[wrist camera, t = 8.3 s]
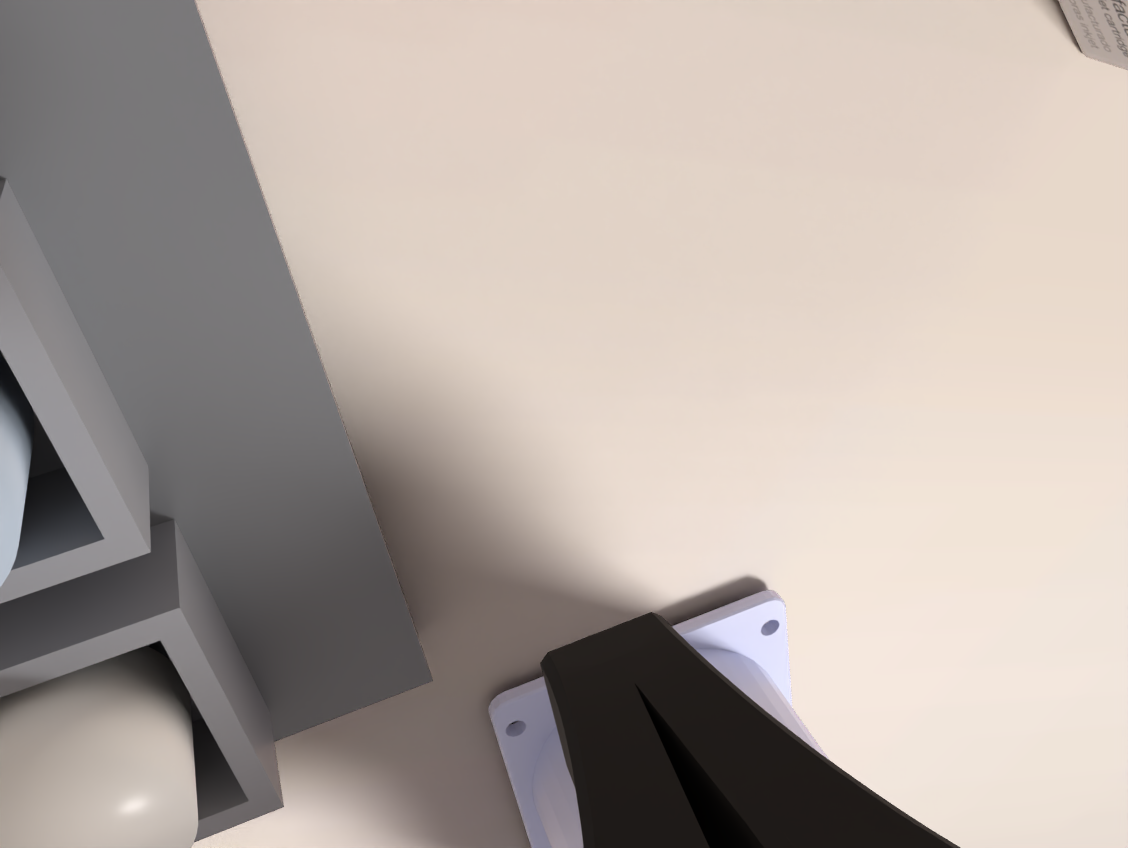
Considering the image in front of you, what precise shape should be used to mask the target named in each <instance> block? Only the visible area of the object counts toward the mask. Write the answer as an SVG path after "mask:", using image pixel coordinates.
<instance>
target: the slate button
mask: <svg viewBox="0 0 1128 848" xmlns="http://www.w3.org/2000/svg"><path fill="white" fill-rule="evenodd" d="M34 429H35V422H34V413H33V408H32V406H31V404H30V403H29V401H28V399H27V397H26V395H25V393H24V392H23V390H22V388H21V386H20V384H19V383H18V381H17V379H16V377H15V375H14V373H13V372H12V370H11V368H10V366H9V364H8V363H7V361H6V360H5V359H4V358H3V357H2V356H1V355H0V587H1V586H2V584H3V583H4V581H5V580H6V578H7V576H8V575H9V573H10V571H11V569H12V566H13V564H14V561H15V559H16V555H17V550H18V546H19V540H20V533H21V526H22V519H23V512H24V505H25V498H26V491H27V484H28V477H29V469H30V462H31V455H32V448H33V441H34Z"/></svg>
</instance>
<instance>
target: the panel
mask: <svg viewBox="0 0 1128 848" xmlns="http://www.w3.org/2000/svg"><path fill="white" fill-rule="evenodd" d="M0 355H1V356H2V357H3V358H4V359H5V360H6V361H7V363H8V364H9V366H10V368H11V370H12V372H13V373H14V375H15V377H16V379H17V381H18V383H19V384H20V386H21V388H22V390H23V392H24V393H25V395H26V397H27V399H28V401H29V403H30V404H31V406H32V408H33V413H34V422H35V429H34V441H33V448H32V455H31V462H30V469H29V477H28V484H27V491H26V498H25V505H24V512H23V519H22V526H21V533H20V540H19V546H18V550H17V555H16V559H15V561H14V564H13V566H12V569H11V571H10V573H9V575H8V576H7V578H6V580H5V581H4V583H3V584H2V586H1V587H0V697H3V696H6V695H9V694H12V693H14V692H17V691H20V690H23V689H26V688H28V687H31V686H34V685H37V684H40V683H42V682H45V681H48V680H51V679H54V678H56V677H59V676H62V675H65V674H68V673H70V672H73V671H76V670H79V669H82V668H84V667H87V666H90V665H93V664H96V663H98V662H101V661H104V660H107V659H110V658H112V657H115V656H118V655H121V654H124V653H126V652H129V651H132V650H135V649H138V648H140V647H143V646H148V647H150V648H152V649H154V650H156V651H157V652H159V653H161V654H163V655H164V656H165V657H166V658H168V659H169V660H170V661H171V662H172V663H173V664H174V666H175V668H176V670H177V671H178V673H179V675H180V677H181V679H182V680H183V682H184V684H185V686H186V688H187V689H188V691H189V693H190V702H191V717H192V732H193V747H194V763H195V778H196V793H197V808H198V829H197V835H196V837H195V840H194V842H196V841H199V840H201V839H204V838H206V837H209V836H211V835H214V834H216V833H219V832H221V831H224V830H227V829H229V828H232V827H234V826H237V825H239V824H242V823H244V822H247V821H249V820H252V819H254V818H257V817H259V816H262V815H265V814H267V813H270V812H272V811H275V810H277V809H280V808H282V807H284V805H283V798H282V791H281V785H280V778H279V771H278V764H277V758H276V751H275V744H274V741H277V740H280V739H282V738H285V737H288V736H290V735H293V734H295V733H298V732H301V731H303V730H306V729H308V728H311V727H314V726H316V725H319V724H322V723H324V722H327V721H329V720H332V719H335V718H337V717H340V716H342V715H345V714H348V713H350V712H353V711H356V710H358V709H361V708H363V707H366V706H369V705H371V704H374V703H376V702H379V701H382V700H384V699H387V698H389V697H392V696H395V695H397V694H400V693H403V692H405V691H408V690H410V689H413V688H416V687H418V686H421V685H423V684H426V683H429V682H431V681H433V679H432V676H431V673H430V670H429V667H428V664H427V661H426V658H425V655H424V652H423V649H422V646H421V643H420V641H419V638H418V635H417V632H416V629H415V626H414V623H413V620H412V617H411V615H410V612H409V609H408V606H407V603H406V600H405V597H404V595H403V592H402V589H401V586H400V583H399V580H398V577H397V575H396V572H395V569H394V566H393V563H392V560H391V558H390V555H389V552H388V549H387V546H386V543H385V540H384V538H383V535H382V532H381V529H380V526H379V523H378V520H377V518H376V515H375V512H374V509H373V506H372V503H371V500H370V498H369V495H368V492H367V489H366V486H365V483H364V480H363V478H362V475H361V472H360V469H359V466H358V463H357V460H356V458H355V455H354V452H353V449H352V446H351V443H350V440H349V438H348V435H347V432H346V429H345V426H344V423H343V421H342V418H341V415H340V412H339V409H338V406H337V403H336V401H335V398H334V395H333V392H332V389H331V386H330V383H329V381H328V378H327V375H326V372H325V369H324V366H323V363H322V361H321V358H320V355H319V352H318V349H317V346H316V343H315V341H314V338H313V335H312V332H311V329H310V326H309V323H308V321H307V318H306V315H305V312H304V309H303V306H302V303H301V301H300V298H299V295H298V292H297V289H296V286H295V284H294V281H293V278H292V275H291V272H290V269H289V266H288V264H287V261H286V258H285V255H284V252H283V249H282V246H281V244H280V241H279V238H278V235H277V232H276V229H275V226H274V224H273V221H272V218H271V215H270V212H269V209H268V206H267V204H266V201H265V198H264V195H263V192H262V189H261V186H260V184H259V181H258V178H257V175H256V172H255V169H254V166H253V164H252V161H251V158H250V155H249V152H248V149H247V147H246V144H245V141H244V138H243V135H242V132H241V129H240V127H239V124H238V121H237V118H236V115H235V112H234V109H233V107H232V104H231V101H230V98H229V95H228V92H227V89H226V87H225V84H224V81H223V78H222V75H221V72H220V69H219V67H218V64H217V61H216V58H215V55H214V52H213V49H212V47H211V44H210V41H209V38H208V35H207V32H206V30H205V27H204V24H203V21H202V18H201V15H200V12H199V10H198V7H197V4H196V1H195V0H0Z"/></svg>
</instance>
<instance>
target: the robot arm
mask: <svg viewBox="0 0 1128 848" xmlns="http://www.w3.org/2000/svg"><path fill="white" fill-rule="evenodd" d="M766 622H767V623H766ZM765 623H766V624H765ZM540 665H541V668H542V672H543V677H540V678H538V679H535V680H533V681H530V682H527V683H525V684H522V685H520V686H517V687H515V688H512V689H509V690H507V691H504V692H502V693H501V694H499V695H497V696H496V697H495V698H494V699H493V700H492V701H491V703H490V705H489V715H490V718H491V721H492V724H493V728H494V731H495V734H496V737H497V740H498V744H499V747H500V750H501V753H502V756H503V759H504V763H505V766H506V769H507V772H508V775H509V779H510V782H511V785H512V788H513V791H514V794H515V798H516V801H517V804H518V807H519V810H520V814H521V817H522V820H523V823H524V826H525V829H526V833H527V836H528V839H529V842H530V845H531V848H960V847H958V846H957V845H955V844H954V843H952V842H950V841H949V840H947V839H945V838H944V837H942V836H940V835H939V834H937V833H936V832H934V831H932V830H931V829H929V828H928V827H926V826H924V825H923V824H921V823H920V822H918V821H917V820H915V819H914V818H912V817H910V816H909V815H907V814H906V813H904V812H903V811H901V810H900V809H898V808H897V807H895V806H894V805H892V804H891V803H889V802H888V801H886V800H885V799H883V798H882V797H880V796H879V795H878V794H876V793H875V792H873V791H872V790H870V789H869V788H868V787H866V786H865V785H863V784H862V783H861V782H859V781H858V780H856V779H855V778H853V777H852V776H851V775H849V774H848V773H846V772H845V771H843V770H842V769H841V768H839V767H838V766H837V765H835V764H834V763H833V762H831V761H830V760H829V759H828V757H827V756H826V754H825V753H824V752H823V750H822V749H821V747H820V746H819V745H818V743H817V742H816V740H815V739H814V738H813V736H812V735H811V733H810V732H809V730H808V729H807V728H806V726H805V725H804V723H803V722H802V721H801V719H800V718H799V716H798V715H797V714H796V712H795V711H794V709H793V708H792V696H791V681H790V666H789V651H788V636H787V621H786V606H785V603H784V601H783V599H782V598H781V597H780V596H779V594H778V593H776V592H775V591H772V590H766V591H761V592H758V593H756V594H753V595H751V596H748V597H746V598H743V599H741V600H738V601H735V602H733V603H730V604H728V605H725V606H723V607H720V608H717V609H715V610H712V611H710V612H707V613H705V614H702V615H699V616H697V617H694V618H692V619H689V620H687V621H684V622H681V623H679V624H676V625H674V626H671V625H670V624H669V623H668V622H667V621H666V620H665V619H664V618H663V617H662V616H660V615H657V614H655V613H652V612H650V613H648V614H645V615H643V616H640V617H638V618H635V619H632V620H630V621H627V622H625V623H622V624H620V625H617V626H614V627H612V628H609V629H607V630H604V631H602V632H599V633H596V634H594V635H591V636H589V637H586V638H584V639H581V640H578V641H576V642H573V643H571V644H568V645H566V646H563V647H560V648H558V649H555V650H553V651H550V652H548V653H547V655H546V656H545V657H544V659H543V660H542V661H541V663H540ZM514 721H518V722H516V723H514V724H511V723H512V722H514ZM509 724H511V725H509Z"/></svg>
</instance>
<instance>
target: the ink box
mask: <svg viewBox="0 0 1128 848" xmlns="http://www.w3.org/2000/svg"><path fill="white" fill-rule="evenodd" d="M1058 1H1059V3H1060V6H1061V8H1062V10H1063V12H1064V14H1065V16H1066V19H1067V21H1068V23H1069V25H1070V27H1071V29H1072V32H1073V34H1074V36H1075V38H1076V40H1077V42H1078V44H1079V46H1080V49H1081V51H1082V52H1083V54H1084V55H1085V56H1086V57H1088V58H1090V59H1094V60H1097V61H1100V62H1103V63H1107V64H1110V65H1113V66H1116V67H1119V68H1122V69H1126V70H1128V0H1058Z"/></svg>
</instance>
